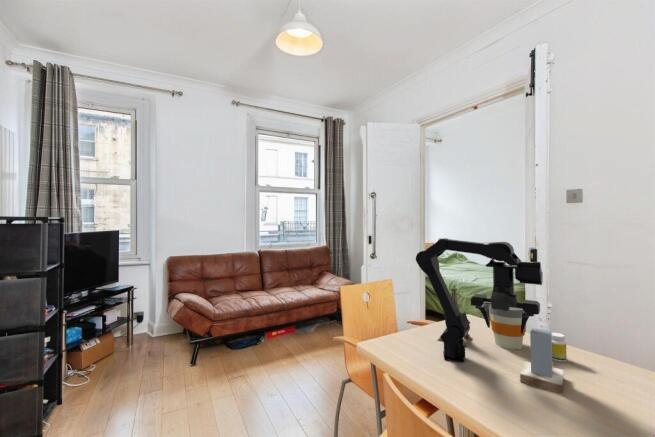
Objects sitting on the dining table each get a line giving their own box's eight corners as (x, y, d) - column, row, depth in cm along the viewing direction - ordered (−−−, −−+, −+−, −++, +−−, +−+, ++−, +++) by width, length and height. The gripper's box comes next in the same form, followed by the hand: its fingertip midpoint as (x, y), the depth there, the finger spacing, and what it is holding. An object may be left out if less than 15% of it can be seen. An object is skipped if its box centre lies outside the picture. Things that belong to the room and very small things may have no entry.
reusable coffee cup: (527, 342, 119) (526, 303, 119) (528, 354, 108) (527, 312, 108) (491, 335, 126) (490, 299, 126) (488, 347, 115) (487, 307, 115)
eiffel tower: (472, 338, 123) (471, 277, 124) (464, 347, 115) (463, 281, 116) (446, 332, 130) (445, 274, 130) (437, 340, 122) (435, 278, 122)
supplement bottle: (569, 362, 102) (569, 337, 102) (553, 361, 103) (553, 336, 103) (561, 356, 106) (561, 332, 106) (546, 355, 107) (546, 331, 107)
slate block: (531, 372, 91) (530, 332, 91) (532, 366, 95) (531, 327, 95) (551, 377, 88) (550, 336, 88) (552, 370, 92) (551, 331, 92)
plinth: (520, 381, 91) (520, 373, 91) (524, 368, 98) (524, 360, 98) (562, 393, 84) (562, 384, 84) (563, 378, 92) (563, 369, 92)
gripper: (465, 282, 97) (466, 331, 97) (536, 289, 85) (538, 345, 85) (474, 277, 105) (475, 322, 105) (539, 282, 94) (541, 333, 94)
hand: (504, 330), depth 97 cm, fingers open, 9 cm apart
